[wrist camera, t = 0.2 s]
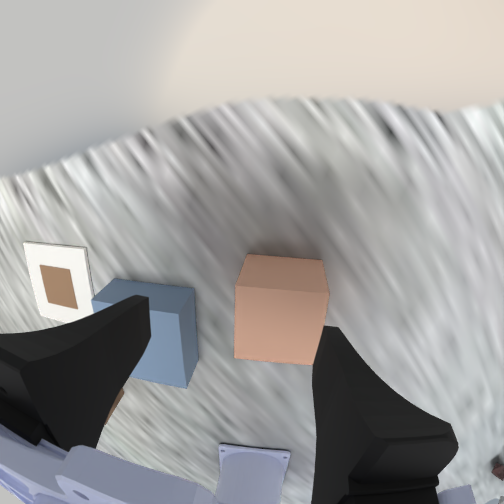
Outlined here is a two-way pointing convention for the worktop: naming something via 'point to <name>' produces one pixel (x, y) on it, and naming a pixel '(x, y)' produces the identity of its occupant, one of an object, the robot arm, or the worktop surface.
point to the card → (60, 280)
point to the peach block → (280, 309)
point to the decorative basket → (499, 472)
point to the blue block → (161, 329)
